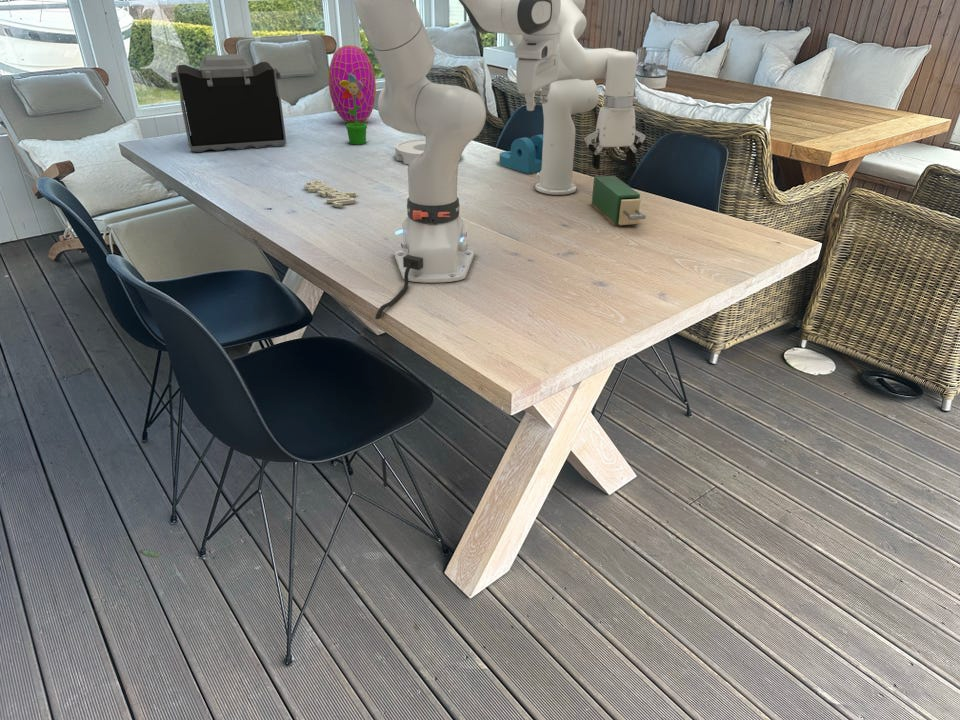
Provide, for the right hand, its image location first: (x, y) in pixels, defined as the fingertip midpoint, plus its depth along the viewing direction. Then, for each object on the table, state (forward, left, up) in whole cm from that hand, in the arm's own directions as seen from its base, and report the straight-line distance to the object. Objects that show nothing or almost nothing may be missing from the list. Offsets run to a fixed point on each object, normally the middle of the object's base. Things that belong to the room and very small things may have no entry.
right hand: (612, 167), depth 190 cm
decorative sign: (-51, -64, -12) cm, 83 cm away
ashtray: (-76, -19, -12) cm, 79 cm away
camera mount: (-51, +4, -12) cm, 52 cm away
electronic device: (-129, -73, -12) cm, 148 cm away
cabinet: (+4, -2, -12) cm, 13 cm away
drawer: (+9, -3, -11) cm, 15 cm away
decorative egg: (-143, -20, -12) cm, 145 cm away
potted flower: (-108, -32, -12) cm, 114 cm away
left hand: (-2, -25, +18) cm, 31 cm away
